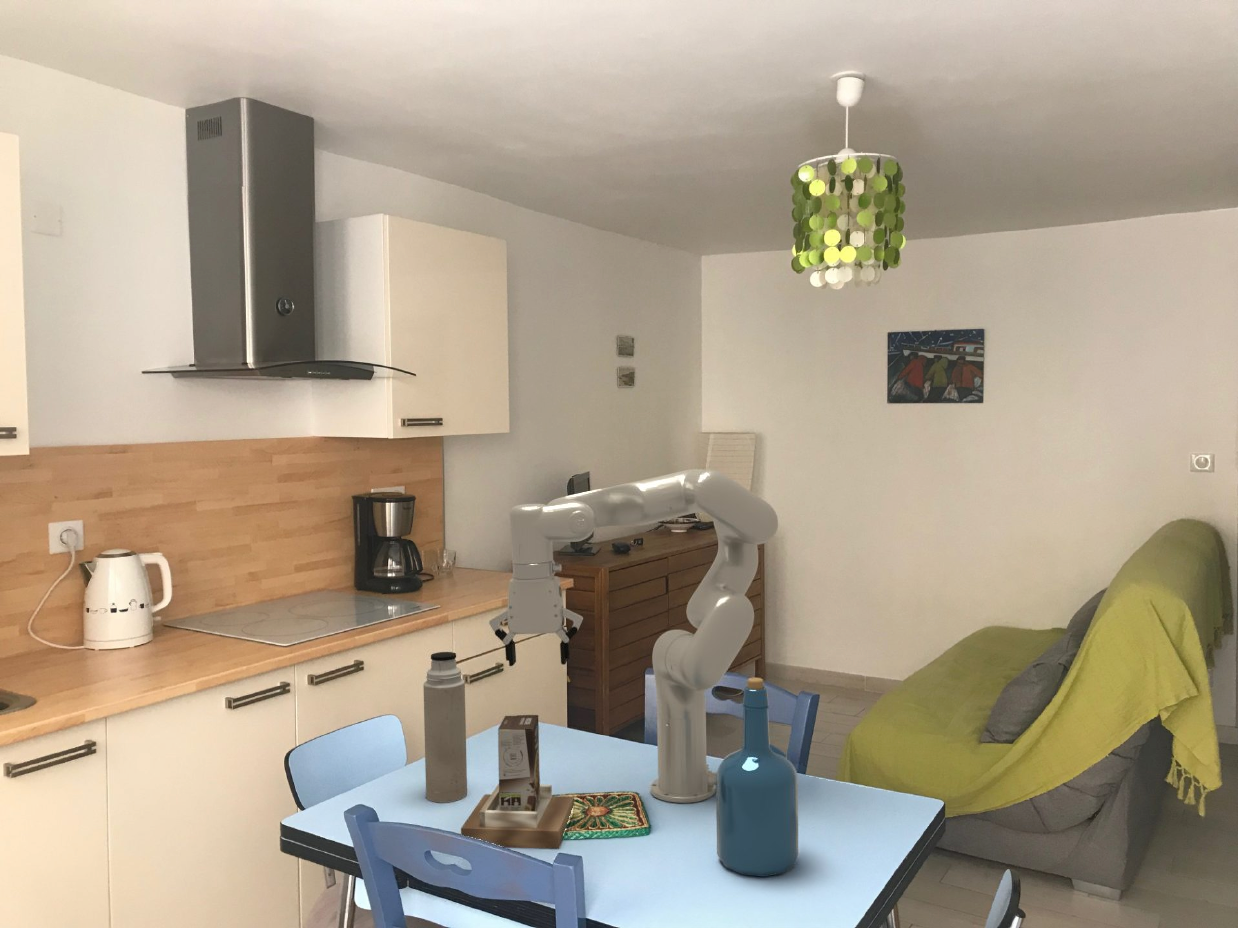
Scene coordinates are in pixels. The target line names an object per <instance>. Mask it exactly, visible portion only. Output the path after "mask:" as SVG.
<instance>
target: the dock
mask: <svg viewBox="0 0 1238 928" xmlns="http://www.w3.org/2000/svg"><path fill="white" fill-rule="evenodd" d="M552 793H553V792H552V784H540V803H539V806H538V809H537V812H533V811H499V783H498V784H497V786H496V787H495V788H494V790H493V791H492V792H491V794H486V793H485V794H484V795H483V796H482V797H481V799H480V800H479V802H478V803H477V805H476V806H475V807H474V809H473V810H472V812H471V813H470V815H469V816H468V817H467V819H466V820H465V822H464V823H463V825H462V826H461V828H460V835H461V834H462V835H464V836H469V837H473V838H476V839H481V840H483V841H487V842H489V843H494V844H496V845H500V846H504V847H503V848H517V849H518V848H521V849H522V848H524V849H525V848H526V849H527V848H528V849H549V850H550V849H551V850H553V849H554V850H555V849H556V850H559V849H560V848H561V847H560V846H561V845H562V843H563V840H562V838H563V833H564V830H565V828H566V825H567V822H568V819H569V816H570V814H571V810H572V808H573V806H574V807H575V797H574V796H562V795H560V796H557V795H556V796H555V795H552ZM563 839H564V838H563Z"/></svg>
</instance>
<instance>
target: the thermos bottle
mask: <svg viewBox="0 0 1238 928" xmlns="http://www.w3.org/2000/svg"><path fill="white" fill-rule="evenodd" d="M456 658H457V653H456V652H453V651H439V652H435V653H432V654H430V659H431V662H430V665H431V666H430V668H429V669H428V670H427V671H426V677H425V679H426V681H425V682H423V720H424V722H423V724H424V725H423V726H424V727H423V728H424V759H425V760H424V764H425V765H424V766H425V767H424V769H425V799H426V800H428V801H430V802H433V803H439V804H440V803H442V804H443V803H451V802H457V801H460V800H462V799H464V798H465V797H467V795H468V777H467V776H468V772H467V771H468V770H467V768H468V767H467V766H468V765H467V729H466V728H467V725H466V724H467V723H466V721H467V720H466V717H467V716H466V681H465V680H464V679H463V678H462V674H463V673H462V669H461V668H459V667H458V666H457V660H456Z"/></svg>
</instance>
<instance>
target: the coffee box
mask: <svg viewBox="0 0 1238 928" xmlns="http://www.w3.org/2000/svg"><path fill="white" fill-rule="evenodd" d="M539 727H540V726H539V714H522V715H521V714H520V715H505V716H504V717H503V719H502V721H501V723H500V725H499V727H498V728H497V731H498V732H497V736H498V738H497V739H498V740H497V741H498V742H497V745H498V746H497V748H498V749H497V751H498V784H499V811H533V812H537V809H538V806H539V803H540V785H541V779H540V775H541V774H540V772H541V771H540V744H539V743H540V739H539V737H540V733H539V731H540V730H539V729H540V728H539Z"/></svg>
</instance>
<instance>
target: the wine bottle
mask: <svg viewBox="0 0 1238 928" xmlns="http://www.w3.org/2000/svg"><path fill="white" fill-rule="evenodd" d="M746 683H747V685H745V686H744V687H743V695H742V705H741V707H742V709H743V716H742V717H743V719H742V721H743V722H742V746H741V747H740V748H739V749H738V750H735V751H732V752H731V753H729V754H728V755H726V756H725V757H724V758H723V760H722V761H721V763H720V764H719V767H718V768H717V771H716V772H715V773H716V785H715V798H716V799H715V806H716V807H715V808H716V809H715V811H716V813H715V814H716V817H715V818H716V854H717V857H718V860H719V861H720V862H721V863H722V864H723V867H725V868H727V869H729V870H731V871H732V872H735V873H739V874H741V875H749V876H756V877H757V876H758V877H766V876H775V875H782V874H784V873H785V872H788V871H789V870H791V869H793V868H794V867H795V866H796V863H797V860H798V855H799V799H798V798H799V797H798V796H799V787H798V785H799V784H798V773H797V770H796V767H795V766H794V764H793V763H792V762H791V760H789V759H788V757H787V754H786V753H785V752H784V751H782V750H781V749H779V748H777V747H776V746H774V745H772V744H771V743H770V741H771V739H770V723H769V721H770V720H769V709H770V705H769V696H768V688H767V687H766V686H765V685H764V679H763V678H761V677H749V678H748V679H747V681H746Z"/></svg>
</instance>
